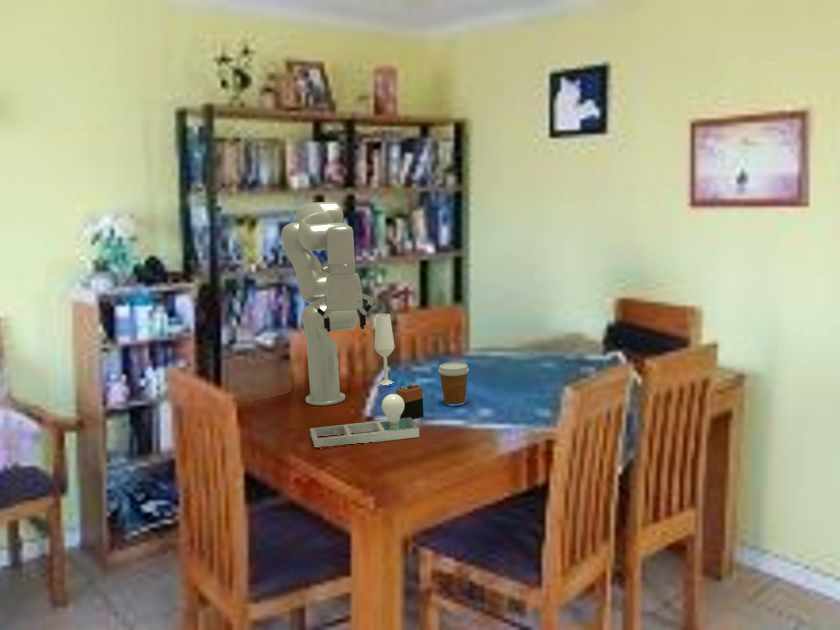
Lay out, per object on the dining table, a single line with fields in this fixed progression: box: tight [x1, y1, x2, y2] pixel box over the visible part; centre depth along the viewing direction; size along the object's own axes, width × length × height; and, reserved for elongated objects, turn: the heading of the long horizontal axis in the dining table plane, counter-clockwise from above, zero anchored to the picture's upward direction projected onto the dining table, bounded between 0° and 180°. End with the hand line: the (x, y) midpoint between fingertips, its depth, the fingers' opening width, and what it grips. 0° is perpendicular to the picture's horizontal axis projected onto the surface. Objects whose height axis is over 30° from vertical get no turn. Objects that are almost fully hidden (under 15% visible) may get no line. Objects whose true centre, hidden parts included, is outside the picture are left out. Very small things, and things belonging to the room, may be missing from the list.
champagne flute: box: [374, 313, 395, 385], centre depth 288 cm, size 7×7×24 cm
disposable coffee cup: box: [437, 361, 470, 404], centre depth 265 cm, size 10×10×12 cm
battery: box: [396, 382, 424, 420], centre depth 253 cm, size 4×7×10 cm, turn 128°
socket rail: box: [309, 417, 420, 448], centre depth 238 cm, size 10×29×2 cm, turn 103°
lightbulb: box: [381, 393, 405, 430], centre depth 239 cm, size 6×6×11 cm
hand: (345, 329), depth 244 cm, fingers open, 9 cm apart
